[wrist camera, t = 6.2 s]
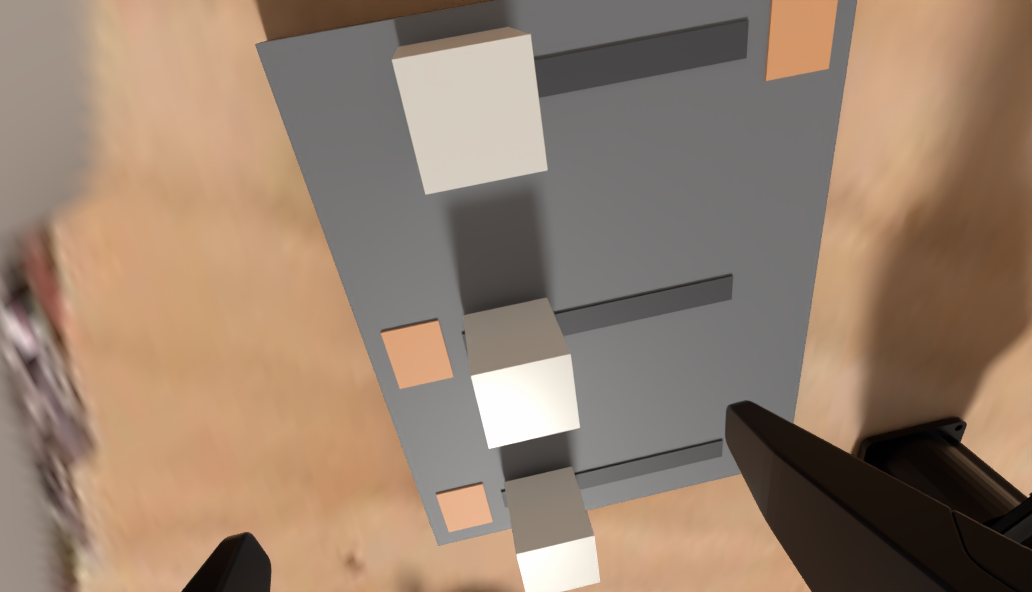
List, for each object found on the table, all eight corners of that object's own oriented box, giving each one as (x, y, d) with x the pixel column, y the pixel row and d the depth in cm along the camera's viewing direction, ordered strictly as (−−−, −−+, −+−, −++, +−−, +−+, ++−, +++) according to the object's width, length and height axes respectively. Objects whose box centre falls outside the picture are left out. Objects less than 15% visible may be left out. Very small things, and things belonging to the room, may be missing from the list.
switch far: (572, 466, 27) (594, 535, 23) (578, 511, 29) (600, 581, 25) (503, 482, 27) (516, 554, 23) (514, 526, 28) (527, 599, 25)
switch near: (508, 26, 17) (530, 34, 13) (524, 138, 18) (547, 170, 15) (397, 46, 17) (391, 59, 13) (424, 157, 18) (425, 195, 15)
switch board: (836, -62, 19) (869, -67, 17) (772, 443, 31) (788, 464, 30) (267, 40, 18) (254, 44, 16) (437, 522, 30) (438, 547, 29)
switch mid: (547, 297, 22) (570, 353, 18) (556, 364, 24) (580, 428, 20) (462, 315, 22) (470, 375, 18) (478, 382, 23) (488, 448, 20)
